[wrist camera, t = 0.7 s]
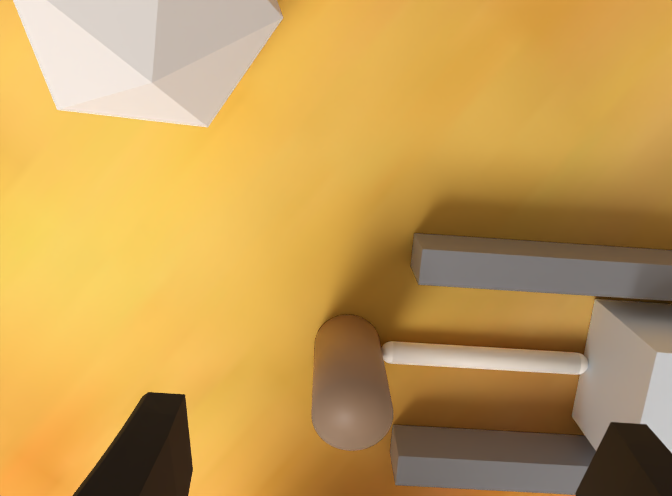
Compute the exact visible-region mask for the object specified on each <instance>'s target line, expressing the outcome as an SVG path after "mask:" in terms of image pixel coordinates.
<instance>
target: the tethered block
mask: <svg viewBox="0 0 672 496" xmlns="http://www.w3.org/2000/svg"><path fill="white" fill-rule="evenodd" d="M384 361H385V362H387V363H391V364H406V365H423V366H440V367H457V368H474V369H491V370H507V371H524V372H541V373H558V374H575V375H579V374H580V376H579V381H578V386H577V391H576V396H575V401H574V406H573V411H572V418H573V419H574V421H575V422H576V423H577V425H578V426H579V428H580V429H581V430H582V432H583V433H584V435H585V436H586V438H587V439H588V440H589V442H590V443H591V445H592V446H593V448H594V449H595V450H596V451H597V449H598V447H599V445H600V443H601V441H602V439H603V437H604V435H605V433H606V431H607V429H608V427H609V425H610V423H611V422H620V423H635V424H647V426H648V427H649V428H650V429H651V430H652V431H653V432H654V433H655V435H656V436H657V437H658V438H659V439H660V440H661V441H662V443H663V444H664V445H665V446H666V447H667V448H668V449H669V451H670V452H671V453H672V304H667V303H652V302H636V301H620V300H604V299H595V301H594V306H593V311H592V316H591V321H590V326H589V331H588V336H587V341H586V346H585V351H584V355H583V354H581V353H577V352H561V351H545V350H528V349H512V348H495V347H479V346H462V345H446V344H429V343H413V342H396V341H389V342H387V343H385V344H384V345H383V346H382V348H381V345H380V340H379V336H378V333H377V331H376V329H375V328H374V327H373V325H372V324H371V323H370V322H368V321H367V320H365V319H364V318H361V317H359V316H355V315H340V316H336V317H334V318H332V319H330V320H328V321H327V322H325V323H324V324H323V325H322V327H321V328H320V329H319V331H318V333H317V335H316V338H315V347H314V370H313V393H312V423H313V426H314V428H315V430H316V432H317V434H318V435H319V436H320V437H321V438H322V439H323V440H324V441H325V442H326V443H328V444H329V445H331V446H333V447H335V448H338V449H342V450H349V451H355V450H362V449H366V448H368V447H371V446H373V445H375V444H376V443H378V442H379V441H380V440H381V439H383V437H384V436H385V435H386V434H387V432H388V431H389V429H390V427H391V424H392V421H393V406H392V401H391V396H390V391H389V386H388V381H387V375H386V370H385V365H384Z"/></svg>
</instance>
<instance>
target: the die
mask: <svg viewBox="0 0 672 496" xmlns="http://www.w3.org/2000/svg"><path fill="white" fill-rule="evenodd" d="M13 1H14V4H15V6H16V9H17V11H18V14H19V16H20V19H21V21H22V24H23V26H24V29H25V31H26V34H27V36H28V39H29V41H30V43H31V46H32V48H33V51H34V53H35V56H36V58H37V61H38V63H39V66H40V68H41V71H42V73H43V76H44V78H45V81H46V83H47V86H48V88H49V90H50V93H51V95H52V98H53V100H54V103H55V105H56V108H57V110H63V111H72V112H81V113H89V114H98V115H106V116H115V117H124V118H132V119H141V120H149V121H158V122H167V123H175V124H184V125H192V126H201V127H208V126H209V125H210V123H211V122H212V120H213V119H214V118H215V116H216V115H217V113H218V112H219V110H220V109H221V107H222V106H223V105H224V103H225V102H226V100H227V99H228V97H229V96H230V94H231V93H232V91H233V90H234V89H235V87H236V86H237V84H238V83H239V81H240V80H241V78H242V77H243V75H244V74H245V73H246V71H247V70H248V68H249V67H250V65H251V64H252V62H253V61H254V59H255V58H256V57H257V55H258V54H259V52H260V51H261V49H262V48H263V46H264V45H265V44H266V42H267V41H268V39H269V38H270V36H271V35H272V33H273V32H274V30H275V29H276V28H277V26H278V25H279V23H280V22H281V20H282V19H283V15H282V13H281V10H280V7H279V4H278V2H277V0H13Z"/></svg>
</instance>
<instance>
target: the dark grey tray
mask: <svg viewBox="0 0 672 496" xmlns="http://www.w3.org/2000/svg"><path fill="white" fill-rule="evenodd" d="M411 268H412V271H413V273H414V275H415V278H416V280H417V282H418V285H432V286H448V287H463V288H479V289H494V290H510V291H526V292H541V293H557V294H572V295H588V296H603V297H619V298H635V299H650V300H666V301H672V250H660V249H645V248H630V247H615V246H600V245H585V244H570V243H555V242H540V241H525V240H510V239H495V238H480V237H465V236H450V235H435V234H420V233H414V239H413V248H412V257H411ZM595 453H596V450H595V449H594V448H593V446H592V445H591V443H590V442H589V440H588V439H587V438H586V436H584V435H566V434H548V433H531V432H513V431H495V430H478V429H460V428H442V427H425V426H407V425H393V428H392V437H391V446H390V456H391V462H392V468H393V474H394V480H395V485H402V486H421V487H440V488H459V489H478V490H496V491H515V492H534V493H553V494H571V495H576V494H575V493H576V491H577V489H578V487H579V485H580V483H581V481H582V479H583V477H584V475H585V473H586V471H587V469H588V467H589V465H590V463H591V461H592V459H593V457H594V455H595Z"/></svg>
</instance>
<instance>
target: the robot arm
mask: <svg viewBox="0 0 672 496" xmlns="http://www.w3.org/2000/svg"><path fill="white" fill-rule="evenodd" d="M192 471H193V467H192V457H191V447H190V438H189V428H188V419H187V409H186V399H185V395H184V394H168V393H152V392H148V393H147V394H145V395H144V396H142V398H141V400H140V401H139V403H138V404H137V406H136V408H135V409H134V411H133V412H132V414H131V415H130V417H129V418H128V420H127V421H126V423H125V424H124V426H123V427H122V429H121V430H120V432H119V433H118V435H117V436H116V438H115V439H114V440H113V442H112V443H111V445H110V446H109V447H108V449H107V450H106V452H105V453H104V454H103V456H102V457H101V459H100V460H99V461H98V463H97V464H96V466H95V467H94V468H93V470H92V471H91V472H90V473H89V475H88V476H87V477H86V479H85V480H84V481H83V483H82V484H81V485H80V487H79V488H78V489H77V490H76V492H75V493H74V494H73V496H188V493H189V488H190V482H191V477H192ZM575 494H576V496H672V453H671V452H670V451H669V449H668V448H667V447H666V446H665V445H664V444H663V443H662V441H661V440H660V439H659V438H658V437H657V436H656V435H655V433H654V432H653V431H652V430H651V429H650V428H649V427H648V426H647V424H635V423H620V422H611V423H610V425H609V427H608V429H607V431H606V433H605V435H604V437H603V439H602V441H601V443H600V445H599V447H598V449H597V451H596V453H595V455H594V457H593V459H592V461H591V463H590V465H589V467H588V469H587V471H586V473H585V475H584V477H583V479H582V481H581V483H580V485H579V487H578V489H577V491H576V493H575Z"/></svg>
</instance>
